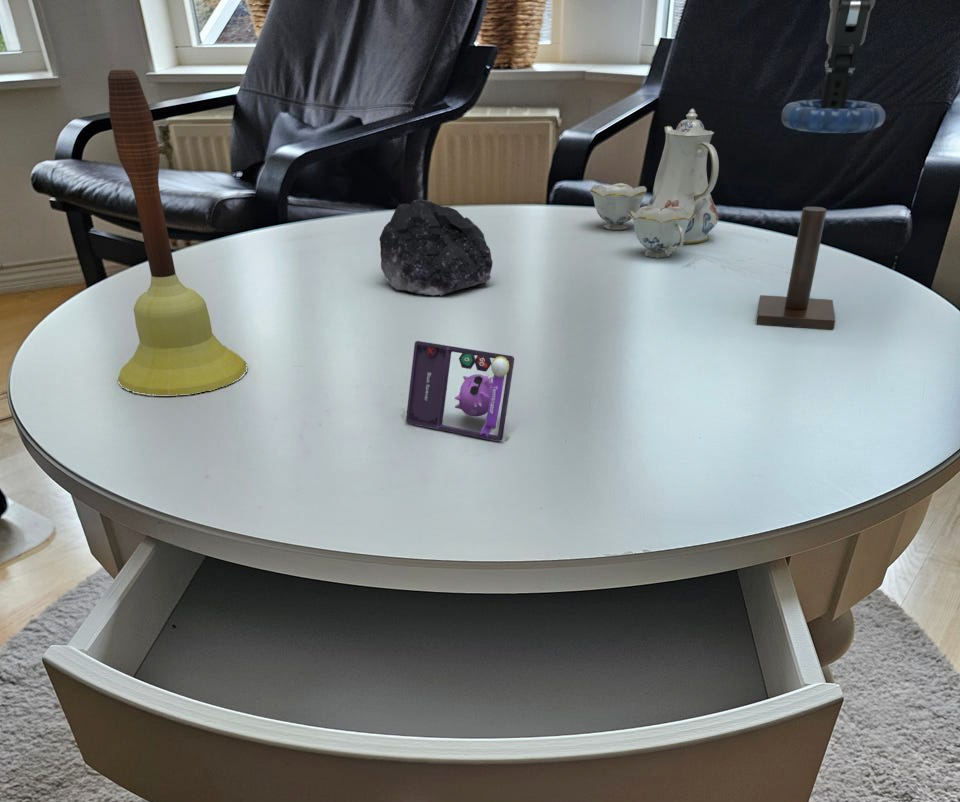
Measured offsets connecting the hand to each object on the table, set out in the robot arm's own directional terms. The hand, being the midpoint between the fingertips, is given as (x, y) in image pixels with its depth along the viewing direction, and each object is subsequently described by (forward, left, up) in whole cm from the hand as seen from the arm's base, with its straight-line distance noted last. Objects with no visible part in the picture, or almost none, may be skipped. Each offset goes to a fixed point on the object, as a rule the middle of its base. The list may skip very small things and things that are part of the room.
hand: (830, 115), depth 92 cm
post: (0, +4, -19) cm, 19 cm away
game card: (+27, +42, -19) cm, 53 cm away
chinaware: (+19, -30, -19) cm, 41 cm away
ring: (0, +4, 0) cm, 4 cm away
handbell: (+57, +37, -19) cm, 70 cm away
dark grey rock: (+43, 0, -19) cm, 47 cm away
